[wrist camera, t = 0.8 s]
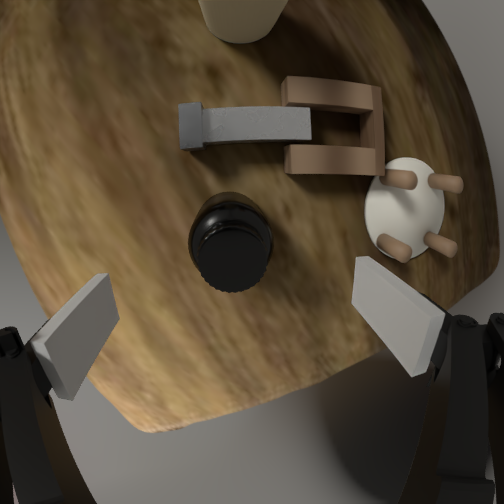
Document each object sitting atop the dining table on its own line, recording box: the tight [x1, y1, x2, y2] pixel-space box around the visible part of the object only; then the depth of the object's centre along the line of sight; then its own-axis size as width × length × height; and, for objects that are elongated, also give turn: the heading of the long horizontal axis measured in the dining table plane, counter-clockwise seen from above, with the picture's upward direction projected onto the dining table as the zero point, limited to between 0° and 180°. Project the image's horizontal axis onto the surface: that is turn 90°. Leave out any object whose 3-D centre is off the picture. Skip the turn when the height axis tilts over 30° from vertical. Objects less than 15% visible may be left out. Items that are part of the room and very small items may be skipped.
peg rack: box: [364, 158, 463, 263], centre depth 28 cm, size 13×13×6 cm
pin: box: [179, 102, 311, 151], centre depth 24 cm, size 12×4×4 cm, turn 92°
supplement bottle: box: [188, 192, 274, 293], centre depth 24 cm, size 7×7×12 cm
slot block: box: [281, 76, 385, 176], centre depth 26 cm, size 10×10×3 cm
